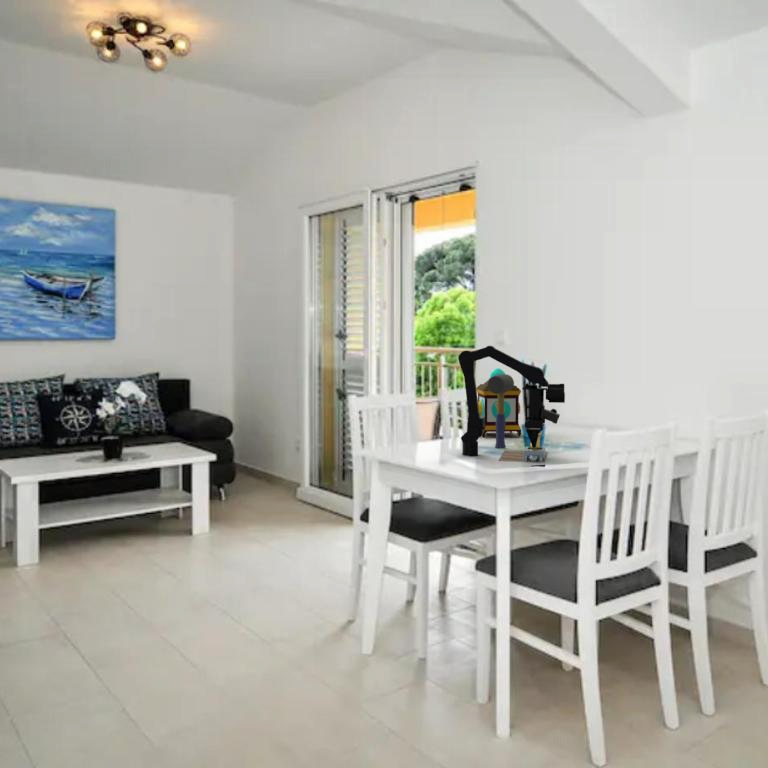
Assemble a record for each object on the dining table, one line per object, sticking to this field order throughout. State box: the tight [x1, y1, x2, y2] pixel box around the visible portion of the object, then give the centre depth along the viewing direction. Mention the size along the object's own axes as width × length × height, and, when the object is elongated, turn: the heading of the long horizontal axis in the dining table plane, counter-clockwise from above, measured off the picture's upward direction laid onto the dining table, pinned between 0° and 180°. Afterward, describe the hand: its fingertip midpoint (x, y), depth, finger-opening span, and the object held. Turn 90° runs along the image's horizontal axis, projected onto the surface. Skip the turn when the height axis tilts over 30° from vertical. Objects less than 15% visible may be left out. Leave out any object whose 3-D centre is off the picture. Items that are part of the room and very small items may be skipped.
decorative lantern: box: [476, 367, 522, 439], centre depth 345 cm, size 20×20×30 cm
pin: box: [530, 431, 543, 450], centre depth 278 cm, size 5×5×9 cm
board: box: [497, 449, 548, 467], centre depth 279 cm, size 24×16×2 cm, turn 166°
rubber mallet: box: [487, 373, 515, 449], centre depth 298 cm, size 12×8×30 cm, turn 152°
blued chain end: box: [523, 446, 546, 463], centre depth 274 cm, size 15×7×3 cm, turn 166°
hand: (534, 445), depth 278 cm, fingers open, 9 cm apart
